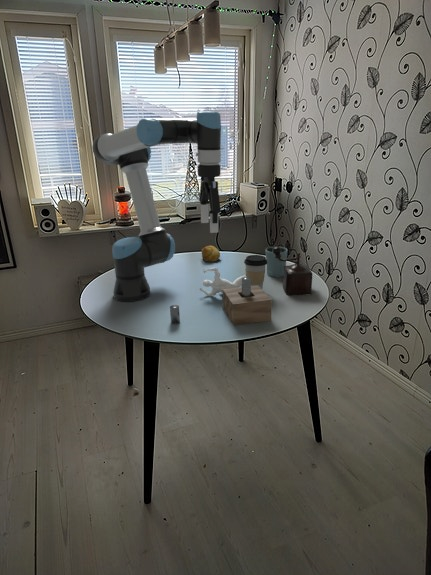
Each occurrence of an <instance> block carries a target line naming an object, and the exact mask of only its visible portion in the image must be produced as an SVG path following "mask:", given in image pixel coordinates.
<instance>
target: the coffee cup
mask: <svg viewBox="0 0 431 575" xmlns="http://www.w3.org/2000/svg"><path fill="white" fill-rule="evenodd" d="M244 264H245V276H247V277H249V278H251V286H256V285H258V286H259V287H260V288H261V289H262V290H263V288H264V286H263V285H264V282H265V274H266V266H267V260H266V256H265V255H261V254H251V255H247V256H246V257H245V259H244Z"/></svg>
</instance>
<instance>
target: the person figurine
mask: <svg viewBox="0 0 431 575" xmlns="http://www.w3.org/2000/svg"><path fill="white" fill-rule="evenodd" d="M209 271H210V272H214V276H213V279H214V280H209V279H204V280H203V282H202V283H203V284H202V285H203V286H204V287H206V288H209V287H211V288H212V289H211V291H209V290H208V291H207V290H205V289H204V287H199V290H200V291H201V292H202V293H205V295H206V296H208V297H213V296H216V295H217V294H218V293H221V294H223V289H230V288H239V287H242V278H243V277H247V276H246V274H244V275H241V276H239V277H238V278H236V279H234V281H233V282H231V281H230V280H228V279H226V278H221V272H220V271H219V269H218V268H217V267H210V268H206V269H203V271H202V272H203V273H204V274H205V273H207V272H209Z"/></svg>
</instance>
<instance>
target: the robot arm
mask: <svg viewBox="0 0 431 575" xmlns="http://www.w3.org/2000/svg"><path fill="white" fill-rule="evenodd" d="M221 130H222V121H221V113H219V111H198V112H197V114H196V118H186V117H184V118H154V117H148V118H141V119H140V120H139V121H138V123H137V124H136V125H133V126H131V127H128V128H126V129H123V130H120V131H117V132H115V133H109V132H107V133H104V134H101V135H98V136H97V137H95V139H94V140H93V142H92V152H93V155H94V157H95V158H96V159H97V160H98V161H99V162H101V163H102V164H104V165H109V166H117V165H118V166H119V168H120V172H121V173H124V174H125V178H126V182H127V184H128V187H129V192H130V195H131V199H132V203H133V207H134V211H135V214H136V220H137V221H138V226H139V229H140V232H139V234H138V236H130V237H124V238H121V239H118V240H116V241H115V242H114V243H113V244H112V255H111V256H112V258H113V265H114V274H115V282H114V286H113V292H112V293H113V297H114V299H115V300H117V301H120V302H128V303H129V302H137V301H140V300H141V301H142V300H144V299H146V298H148V297H149V296H150V295H151V291H152V290H151V286H150V283H149V282H148V279H147V278H146V276H145V275H146V274H145V268H147V267H152V266H155V265H159V264H162V263H163V264H164V263H165V262H168V261H170V260H171V259H173V257H174V255H175V253H176V244H175V240H174V237H172V235H171V234H170V233H167V231H166V229H165V228H164V227H162V226H161V222H160V218H159V214H158V211H157V207H156V203H155V200H154V195H153V192H152V187H151V184H150V180H149V179H150V178H149V176H148V172H147V168H148V167H149V161H150V160H151V157H152V155H151V154H152V149H151V147H155V146H158V145H168V144H169V145H175V144H196V145H197V152H196V153H195V156H196V157H197V163H199V164H198V165H197V176H198V177H200V189H199V198H198V201H199V204H200V223H201V224H208V223H209V233H210V234H215V233H219V216H220V215H219V213H221V210H222V209H221V202H220V192H219V181H216V178H217V177H220V176H221V168H222V167H221V164H220V163H221V162H222V161H221V159H222V154H221V152H222V151H221V150H222V149H221V145H222V144H221V141H222V140H221V139H222V131H221Z"/></svg>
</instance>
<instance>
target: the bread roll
mask: <svg viewBox="0 0 431 575" xmlns="http://www.w3.org/2000/svg"><path fill="white" fill-rule="evenodd" d="M200 252H201V257H202V259H203V260H204V261H205V262H216V261H218V260H219V259H220V257H221V253H220V251H219V249H218V248H216V247H215V246H214V245H206V246H205V247H202V249H201V251H200Z"/></svg>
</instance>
